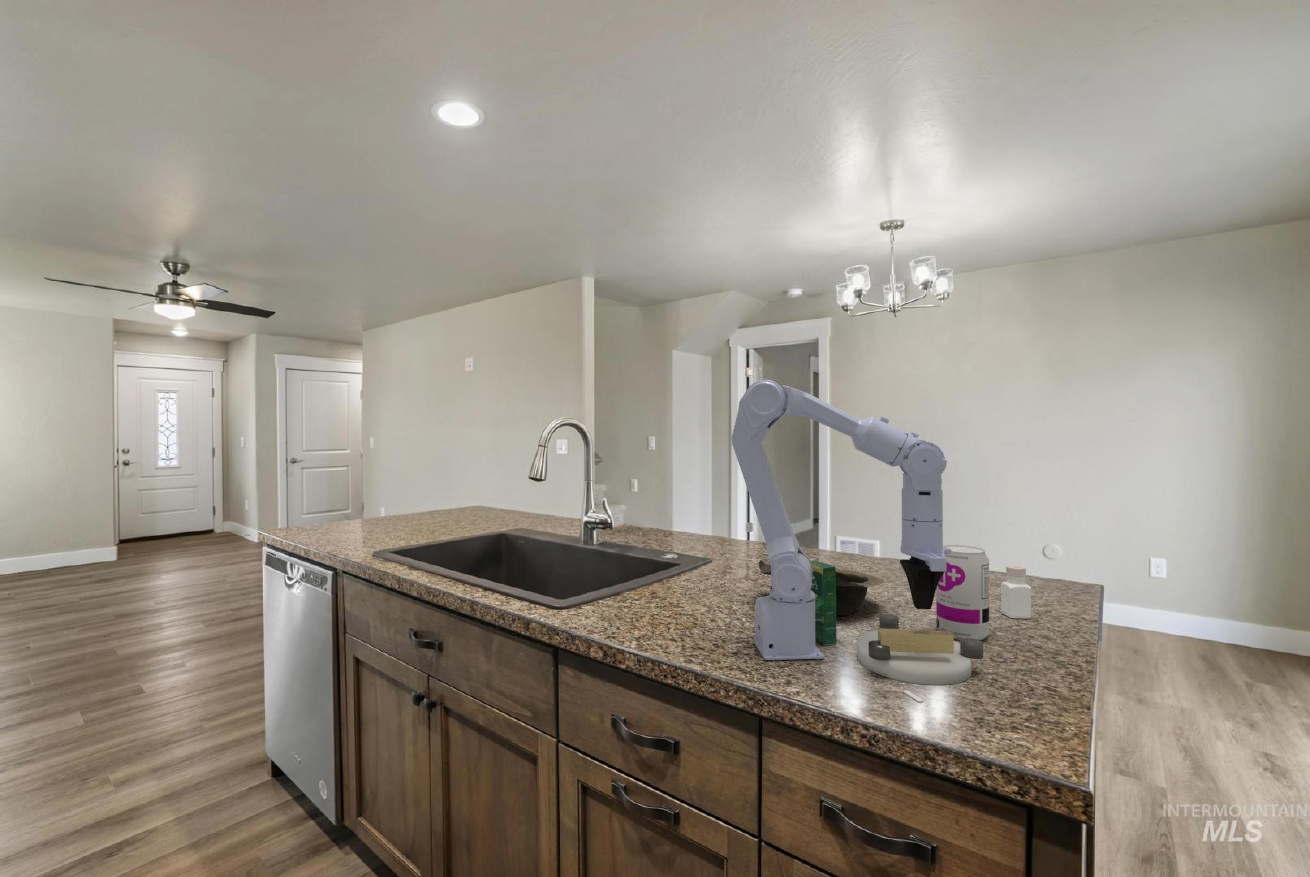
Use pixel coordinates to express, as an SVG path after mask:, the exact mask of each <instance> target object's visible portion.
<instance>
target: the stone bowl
mask: <svg viewBox="0 0 1310 877" xmlns="http://www.w3.org/2000/svg"><path fill="white" fill-rule="evenodd" d="M758 567H759V568H758V569H759V570H760V573H761V574H764V575H768V576H771V564H768V563H765V562H764V561H763V560H762V559H761V560H759V561H758ZM884 583H885V581H884V579H883V578H880V577H877V576H875V575H872V574H867V573H864V572H860V571H857V570H852V569H844V568H843V569H841V568H838V567H836V616H845V617H847V616H850V615H852V614H853V613H857V612H858V611H859V609H861V608H860V607H861V606H862V604H863V603H864V601H865V599H866V596H867V593H868V589H869V588H873V587H876V586H879V585H880V584H884ZM771 589H773V588H772V586H771V585H770V590H771Z"/></svg>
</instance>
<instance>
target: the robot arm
mask: <svg viewBox="0 0 1310 877" xmlns="http://www.w3.org/2000/svg"><path fill="white" fill-rule="evenodd" d="M782 387H783V388H784V389H783V388H782ZM782 387H781V386H780V384H778V383H777V382H776V381H774V380H770V379H760V380H757V381H754V382H753V383H752V384H750V385H749V386H748V388H747V389H746V391H745V392H744V394H743V395H742V397H741V398H740V400H739V402H738V410H737V414H736V419H735V422H734V425H733V426H734V427H733V430H732V435H731V445H732V448H733V450H734V453H735V456H736V460H737V462H738V466H739V469H740V471H741V474H742V477H743V479H744V482H745V486H746V489H747V491H748V493H749V497H750V500H751V502H752V506H753V509H754V511H755V514H756V517H757V518H756V519H757V521H758V524H759V526H760V530H761V532H762V535H763V537H764V542H765V545H766V550H767V557H768V560H769V563H770V564H769V565H771V575H770V579H769V582H770V587H771V586H772V588H773V589H771V590H770V591H769V595H765V596H759V597H756V599H755V604H754V641H753V643H754V644H755V646H756V647H757V650H758V651H759V652H760V655H761V656H762V658H763V660H766V661H772V660H773V661H782V660H783V661H784V660H813V659H814V660H816V659H819V660H820V659H822V660H823V659H825V654H824V653H823V652H822V651H821V650H820V649H819V648H818V647H817V646H816V640H815V593H814V592H812V591H811V585H812V579H811V577H812V573H813V566H812V563H811V561H810V559H811V558H810V557H809V556H808V555H807V554H806V553H804V551H803V550H802V548H801V545H800V543H799V541H798V539H797V537H796V535H795V533H794V531H793V528H792V525H791V521H790V519H789V516H788V513H787V510H786V507H785V505H784V502H783V499H782V495H781V493H780V490H779V487H778V484H777V482H776V479H775V475H774V473H773V471H772V466H771V465H770V462H769V459H768V456H767V453H766V450H765V447H764V441H765V440H766V438H767V435H768V434H769V433H770V430H771V427H773V425H774V424H776V423H777V422H778V421H779V419H780V418H782V417H783V415H785V416H786V417H788V418H794V417H795V418H797V417H800V418H801V417H806V418H808V419H811V420H812V421H815V422H817V423H820V424H822V425H824V426H826V427H828V428H830V429H833V430H835V431H837V432H839V433H841V434H843V435H847V436H848V437H850V438H851V440H852V443H853V446H854V448H855V450H858V451H860V452H861V453H864V454H865V455H867V456H869V457H871V458H873V459H876V460H878V461H879V462H882V463H885V464H886V465H888V466H890V467H893V468H894V467H899V468H900V470H901V471H902V472H903V473H902V488H901V545H900V553H901V554H903V555H907V556H910V557H909V559H900V560H899V564H900V565H901V567H902V569H903V572H904V574H905V576H906V578H907V583H908V586H909V590H910V595H911V599H912V603H913V607H914V608H916V609H917V610H931V609H932V607H933V604H934V600H935V596H936V588H937V585H938V583H939V581H940V579H941V577H942V575H943V574H944V572H945V571H947V570H946V558H945V557H944V554H951V549H949V548H947V547H943V546H944V544H943V543H944V540H943V539H944V535H943V534H944V533H943V532H944V530H943V529H944V528H943V527H944V526H943V521H944V520H943V519H944V516H943V514H944V512H943V511H944V510H943V507H944V506H943V503H944V502H943V501H944V500H943V492H944V491H943V489H942V483H943V478H942V474H943V473H944V472H945V470H946V468H947V463H948V460H947V459H946V458H945V455H944V452H943V451H942V449H941V448H940V447H939V446H938V445H937V444H935V443H933V442H930V441H926V440H923V439H918V438H919V436H920V434H919V433H917V432H914V431H912V432H910V433H909V432H907V431H905V430H903V429H901V428H899V427H897V426H895V425H892V424H890V423H889V422H890V419H889V418H887V417H885V416H880V418H878V417H875V416H874V415H873V416H869V417H866V418H864V419H863V418H862V419H859V418H858V417H856V416H853V415H852V414H850V413H847V412H845V411H844V410H842V409H839V408H838V407H836V406H834V405H832V404H830V403H828V402H826V401H824V400H822V399H821V398H818V397H816V396H814V395H812V394H810V393H808V392H806V391H803V390H800V389H797V388H795V387H791V386H788V385H783V384H782Z"/></svg>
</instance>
